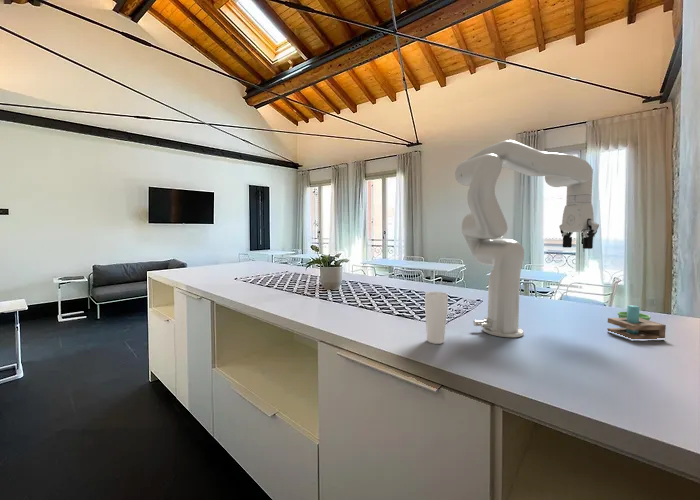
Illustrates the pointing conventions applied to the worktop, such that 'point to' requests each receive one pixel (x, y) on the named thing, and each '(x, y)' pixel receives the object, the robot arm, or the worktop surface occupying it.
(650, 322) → the block
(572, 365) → the worktop surface
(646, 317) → the ramekin
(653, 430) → the worktop surface
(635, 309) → the peg
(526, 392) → the worktop surface
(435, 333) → the drinking glass
